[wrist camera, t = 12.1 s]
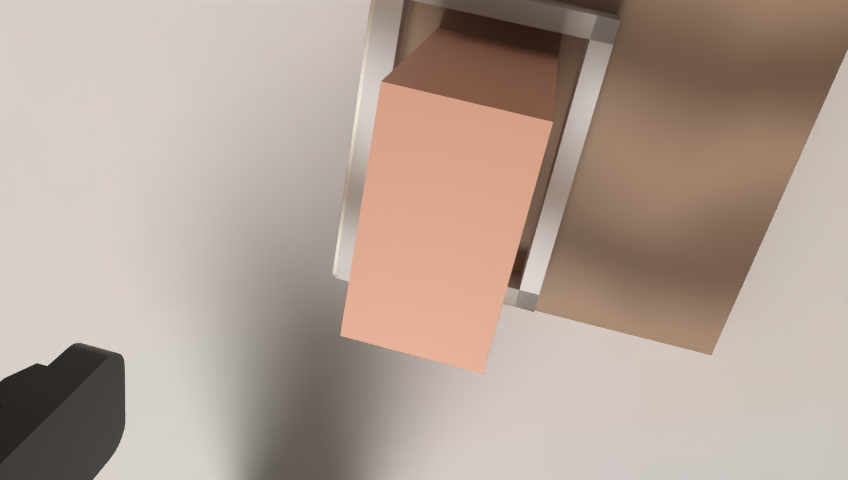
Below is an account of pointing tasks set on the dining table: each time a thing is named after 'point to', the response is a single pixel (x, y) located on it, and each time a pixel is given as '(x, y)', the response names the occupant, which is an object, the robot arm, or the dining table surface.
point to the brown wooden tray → (637, 145)
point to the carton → (448, 195)
